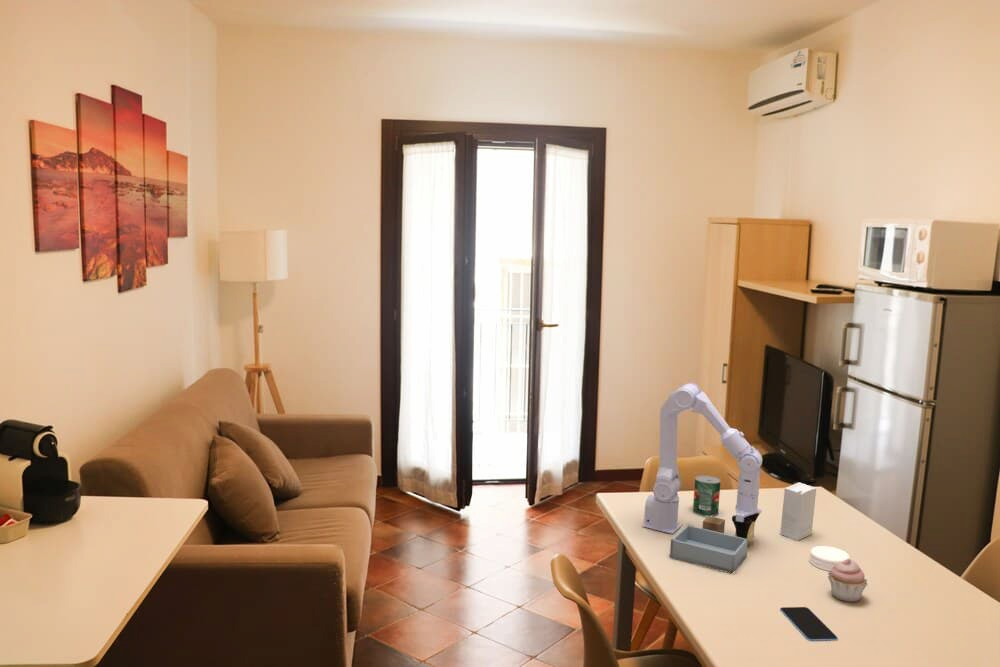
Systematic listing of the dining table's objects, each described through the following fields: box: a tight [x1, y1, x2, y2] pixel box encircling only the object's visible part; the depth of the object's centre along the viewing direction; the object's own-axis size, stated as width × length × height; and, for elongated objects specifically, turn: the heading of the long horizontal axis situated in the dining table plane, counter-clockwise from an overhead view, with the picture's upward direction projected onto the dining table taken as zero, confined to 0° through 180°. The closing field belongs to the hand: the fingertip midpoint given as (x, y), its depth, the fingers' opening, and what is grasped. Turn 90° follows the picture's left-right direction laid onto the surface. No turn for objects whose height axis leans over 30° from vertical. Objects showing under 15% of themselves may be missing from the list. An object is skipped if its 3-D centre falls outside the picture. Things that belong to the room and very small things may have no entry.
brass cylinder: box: [734, 518, 756, 548], centre depth 228 cm, size 5×5×7 cm
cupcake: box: [827, 558, 869, 603], centre depth 197 cm, size 9×9×10 cm
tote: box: [669, 524, 748, 574], centre depth 219 cm, size 17×13×5 cm
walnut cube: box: [701, 516, 726, 534], centre depth 233 cm, size 5×5×5 cm
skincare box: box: [780, 481, 817, 542], centre depth 235 cm, size 8×6×15 cm
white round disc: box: [808, 545, 851, 572], centre depth 217 cm, size 10×10×4 cm
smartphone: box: [779, 606, 839, 642], centre depth 184 cm, size 7×1×15 cm
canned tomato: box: [692, 474, 722, 517], centre depth 252 cm, size 8×8×11 cm
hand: (744, 538), depth 229 cm, fingers closed on brass cylinder, 5 cm apart
